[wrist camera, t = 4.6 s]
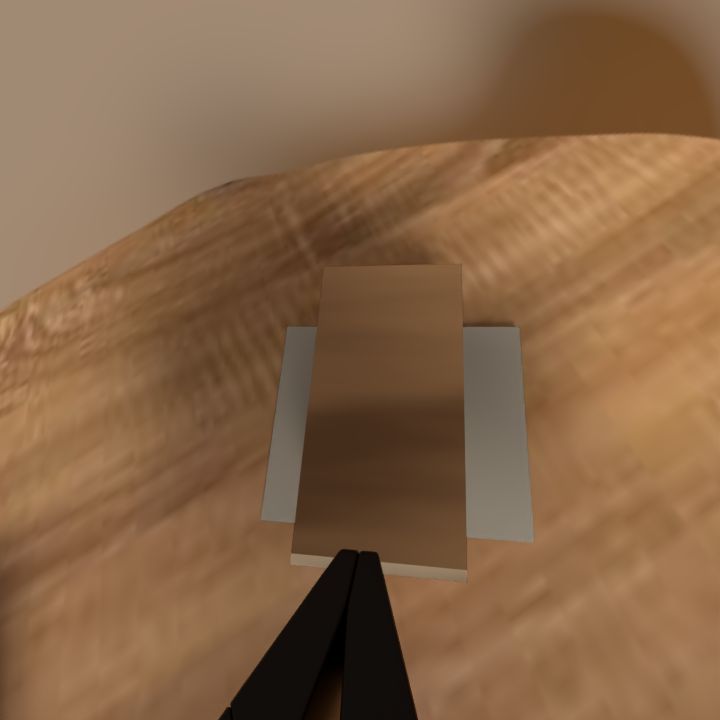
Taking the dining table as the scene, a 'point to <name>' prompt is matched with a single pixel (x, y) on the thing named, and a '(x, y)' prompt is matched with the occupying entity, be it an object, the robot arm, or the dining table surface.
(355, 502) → the walnut block
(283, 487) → the mat
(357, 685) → the robot arm
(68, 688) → the dining table surface
